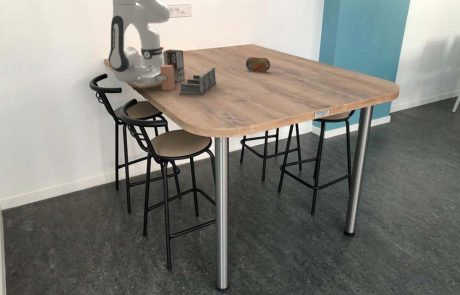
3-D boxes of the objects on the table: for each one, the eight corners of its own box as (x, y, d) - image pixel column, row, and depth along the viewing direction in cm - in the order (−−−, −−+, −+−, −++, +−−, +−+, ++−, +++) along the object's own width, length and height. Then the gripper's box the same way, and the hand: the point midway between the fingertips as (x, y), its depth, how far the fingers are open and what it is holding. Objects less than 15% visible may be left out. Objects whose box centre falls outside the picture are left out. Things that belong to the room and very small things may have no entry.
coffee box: (185, 79, 209) (183, 50, 202) (178, 82, 204) (176, 52, 197) (172, 77, 213) (170, 48, 207) (165, 80, 208) (162, 50, 202)
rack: (195, 82, 203) (194, 66, 199) (216, 83, 200) (215, 67, 196) (180, 93, 185) (178, 75, 181) (203, 95, 182) (202, 76, 178)
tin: (245, 70, 227) (245, 56, 223) (247, 69, 229) (247, 55, 225) (268, 73, 220) (269, 58, 217) (270, 72, 223) (271, 57, 219)
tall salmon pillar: (166, 87, 195) (164, 64, 190) (174, 88, 193) (173, 65, 188) (162, 89, 191) (160, 66, 186) (171, 90, 190) (169, 67, 184)
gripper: (133, 73, 182) (159, 75, 179) (152, 64, 200) (176, 66, 197) (135, 86, 185) (160, 88, 181) (153, 76, 203) (177, 77, 199)
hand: (169, 76), depth 189 cm, fingers closed on tall salmon pillar, 4 cm apart
